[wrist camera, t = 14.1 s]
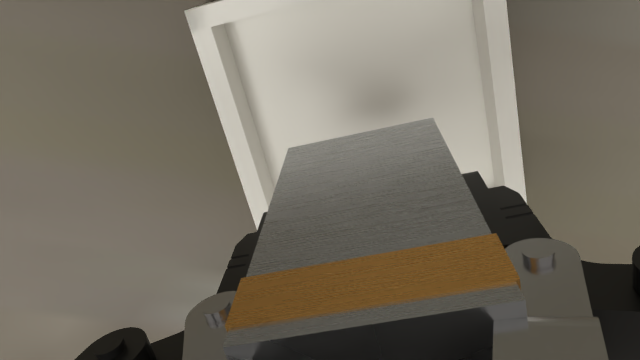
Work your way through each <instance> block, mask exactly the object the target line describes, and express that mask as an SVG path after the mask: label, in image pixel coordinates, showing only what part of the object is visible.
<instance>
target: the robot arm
mask: <svg viewBox="0 0 640 360" xmlns="http://www.w3.org/2000/svg"><path fill="white" fill-rule="evenodd" d="M462 176H463V178H464V180H465V182H466V184H467V186H468V188H469V190H470V192H471V194H472V196H473V198H474V200H475V202H476V204H477V205H478V207H479V209H480V211H481V213H482V215H483V217H484V219H485V221H486V223H487V225H488V227H489V229H490V231H491V233H492V234H494V233H496V234H497V236H498V237H499V239H500V241H501V243H502V245H503V247H504V249H505V251H506V253H507V255H508V257H509V258H510V260H511V262H512V264H513V266H514V268H515V270H516V272H517V274H518V276H519V277H520V285H521V292H522V294H523V296H524V298H525V300H526V309H527V317H526V318H512V319H502V320H494V325H493V358H492V360H640V246H639V247H637V248H636V249H635V251H634V252H633V255H632V264H600V263H591V262H586V261H582V260H581V259H580V255H579V253H578V252H577V250H576V249H575V248H574V247H572V246H571V245H569V244H567V243H565V242H562V241H559V240H555V239H552V238H551V237H550V236H549V234H548V233H547V231H546V230H545V229H544V227H543V226H542V224H541V223H540V222H539V220H538V219H537V217H536V216H535V215H534V214H533V212H532V210H531V209H530V208H529V206H528V205H527V203H526V202H525V201H524V199H523V198H522V196H521V195H520V193H518V192H516V191H514V190H512V189H510V188H508V187H506V186H499V187H493V188H488V187H487V186H486V184H485V182H484V180H483V179H482V177H481V175H480V174H479V172H478V171H474V172H469V173H464V174H462ZM266 214H267V212H264V213H263V216H262V218H261V221H260V224H259V227H258V230H257V232H255V233H250V234H247V235H246V236H245V237H244V238H243V239H242V240H241V241H240V242H239V243H238V244H237V245H236V246H235V249H234V251H233V254H232V256H231V260H230V261H229V264H228V266H227V268H228V269H226V271H225V274H224V276H223V279H222V281H221V284H220V286H219V289H218V291H217V294H215V295H213V296H211V297H208V298H206V299H205V300H203V301H201V302H200V303H199V304H197V305H196V306H195V307H194V308H193V309H192V310H191V311H190V312H189V314H188V315H187V317H186V320H185V330H184V331H182V332H180V333H177V334H175V335H172V336H169V337H167V338H164V339H162V340H159V341H156V342H154V343H151V344H150V342H149V340H148V338H147V335H146V333H145V332H144V331H143V330H142V329H139V328H134V327H130V328H123V329H119V330H116V331H113V332H111V333H109V334H107V335H105V336H103V337H101V338H100V339H98V340H96V341H95V342H94V343H92V344H91V345H90V346H89V347H88V348H86V349H85V350H84V351H83V352H82V353H81V354H80V355H79V356H78V357H77V358H76V359H75V360H227V357H226V355H225V352H224V350H223V345H224V342H225V339H226V336H227V331H226V328H225V324H226V321H227V318H228V315H229V312H230V309H231V306H232V303H233V300H234V297H235V294H236V292H237V289H238V286H239V283H240V280H241V278H245V277H246V275H247V272H248V269H249V266H250V263H251V260H252V257H253V254H254V251H255V248H256V245H257V242H258V239H259V236H260V233H261V230H262V227H263V224H264V221H265V218H266ZM243 360H253V358H248V359H243Z"/></svg>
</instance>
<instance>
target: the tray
mask: <svg viewBox="0 0 640 360" xmlns="http://www.w3.org/2000/svg"><path fill="white" fill-rule="evenodd" d="M184 12H185V15H186V18H187V21H188V24H189V27H190V30H191V33H192V36H193V39H194V42H195V45H196V48H197V51H198V54H199V57H200V60H201V63H202V66H203V69H204V72H205V75H206V78H207V81H208V84H209V87H210V90H211V93H212V96H213V99H214V102H215V105H216V108H217V111H218V114H219V117H220V120H221V123H222V126H223V129H224V132H225V135H226V138H227V141H228V144H229V147H230V150H231V153H232V156H233V159H234V162H235V165H236V168H237V171H238V174H239V177H240V180H241V183H242V186H243V189H244V192H245V195H246V198H247V201H248V204H249V207H250V210H251V213H252V216H253V219H254V222H255V225H256V228H257V230H258V227H259V224H260V221H261V218H262V216H263V213H264V212H267V211H268V208H269V205H270V202H271V199H272V196H273V193H274V190H275V187H276V184H277V181H278V178H279V175H280V172H281V169H282V166H283V163H284V160H285V157H286V154H287V151H288V148H291V147H296V146H300V145H305V144H310V143H315V142H319V141H324V140H329V139H334V138H338V137H343V136H348V135H352V134H357V133H362V132H367V131H371V130H376V129H381V128H386V127H390V126H395V125H400V124H405V123H409V122H414V121H419V120H424V119H428V118H433V119H434V121H435V123H436V125H437V127H438V129H439V131H440V133H441V135H442V137H443V139H444V140H445V142H446V144H447V146H448V148H449V150H450V152H451V154H452V156H453V158H454V160H455V162H456V164H457V166H458V168H459V170H460V172H461V174H464V173H469V172H474V171H478V172H479V174H480V175H481V177H482V179H483V180H484V182H485V184H486V186H487V187H488V188H493V187H499V186H506V187H508V188H510V189H512V190H514V191H516V192H518V193H520V195H521V196H522V198H523V199H524V201H525V202H526V203H527V200H526V190H525V180H524V170H523V161H522V151H521V141H520V131H519V121H518V112H517V102H516V92H515V82H514V72H513V63H512V53H511V43H510V33H509V23H508V13H507V4H506V0H216V1H213V2H209V3H205V4H202V5H199V6H196V7H193V8H190V9H187V10H185V11H184Z"/></svg>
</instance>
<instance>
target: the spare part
mask: <svg viewBox="0 0 640 360" xmlns="http://www.w3.org/2000/svg"><path fill="white" fill-rule="evenodd" d="M526 317H527V309H526V300H525V298H524V296H523V294H522V292H521V285H520V277H519V276H518V274H517V272H516V270H515V268H514V266H513V264H512V262H511V260H510V258H509V257H508V255H507V253H506V251H505V249H504V247H503V245H502V243H501V241H500V239H499V237H498V236H497V234H496V233H494V234H492V233H491V231H490V229H489V227H488V225H487V223H486V221H485V219H484V217H483V215H482V213H481V211H480V209H479V207H478V205H477V204H476V202H475V200H474V198H473V196H472V194H471V192H470V190H469V188H468V186H467V184H466V182H465V180H464V178H463V176H462V174H461V172H460V170H459V168H458V166H457V164H456V162H455V160H454V158H453V156H452V154H451V152H450V150H449V148H448V146H447V144H446V142H445V140H444V139H443V137H442V135H441V133H440V131H439V129H438V127H437V125H436V123H435V121H434V119H433V118H428V119H424V120H419V121H414V122H409V123H405V124H400V125H395V126H390V127H386V128H381V129H376V130H371V131H367V132H362V133H357V134H352V135H348V136H343V137H338V138H334V139H329V140H324V141H319V142H315V143H310V144H305V145H300V146H296V147H291V148H288V151H287V154H286V157H285V160H284V163H283V166H282V169H281V172H280V175H279V178H278V181H277V184H276V187H275V190H274V193H273V196H272V199H271V202H270V205H269V208H268V211H267V214H266V218H265V221H264V224H263V227H262V230H261V233H260V236H259V239H258V242H257V245H256V248H255V251H254V254H253V257H252V260H251V263H250V266H249V269H248V272H247V275H246V277H245V278H241V280H240V283H239V286H238V289H237V292H236V294H235V297H234V300H233V303H232V306H231V309H230V312H229V315H228V318H227V321H226V324H225V328H226V331H227V336H226V339H225V342H224V345H223V350H224V352H225V355H226V357H227V360H243V359H248V358H253V360H492V358H493V325H494V320H502V319H512V318H526Z"/></svg>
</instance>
